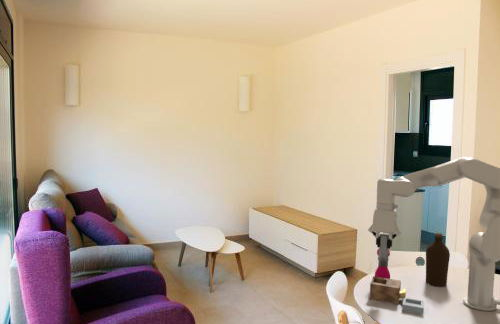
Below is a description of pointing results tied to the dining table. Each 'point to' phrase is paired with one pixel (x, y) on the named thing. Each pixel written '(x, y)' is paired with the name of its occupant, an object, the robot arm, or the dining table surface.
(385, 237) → the grey cylinder
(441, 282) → the olive oil
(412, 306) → the grey square tray
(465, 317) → the dining table surface
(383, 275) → the pepper mill
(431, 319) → the dining table surface
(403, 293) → the tan wooden t-shaped piece
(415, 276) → the dining table surface
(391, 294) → the socket block
